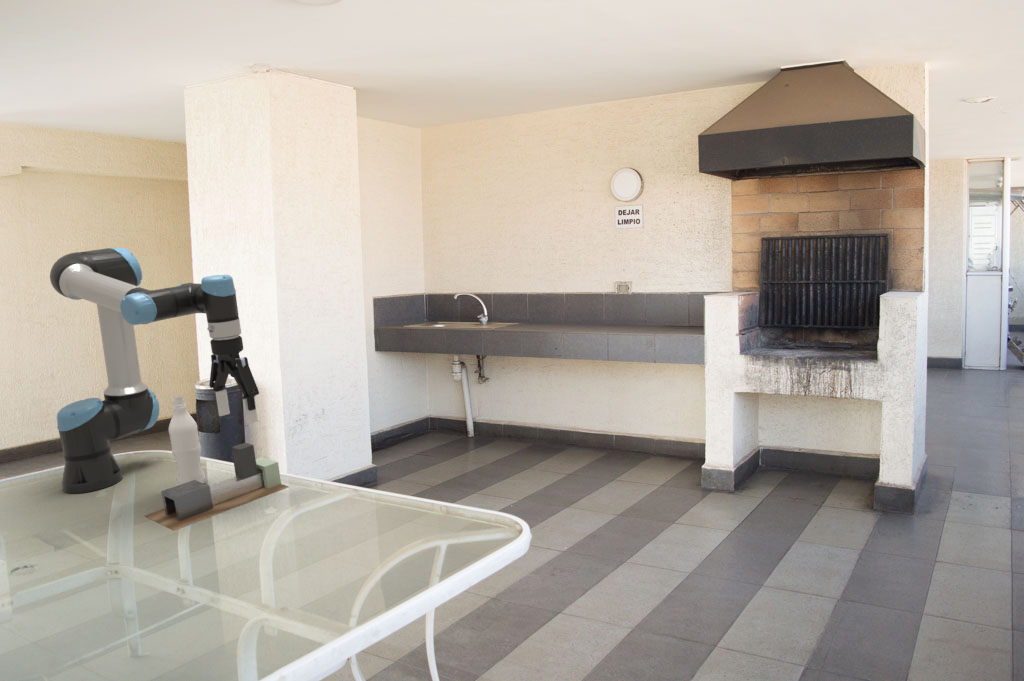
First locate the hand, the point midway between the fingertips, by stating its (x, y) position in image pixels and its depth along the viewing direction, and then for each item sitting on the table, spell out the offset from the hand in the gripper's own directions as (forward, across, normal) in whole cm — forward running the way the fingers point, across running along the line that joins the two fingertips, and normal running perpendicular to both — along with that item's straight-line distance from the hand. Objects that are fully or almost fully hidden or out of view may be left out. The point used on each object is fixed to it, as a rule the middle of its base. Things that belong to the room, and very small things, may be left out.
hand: (238, 418), depth 205 cm
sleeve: (+20, 0, -16) cm, 26 cm away
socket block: (+20, 0, +5) cm, 21 cm away
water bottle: (+20, -18, -6) cm, 28 cm away
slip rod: (+19, 0, -4) cm, 20 cm away
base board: (+20, 0, -8) cm, 22 cm away
